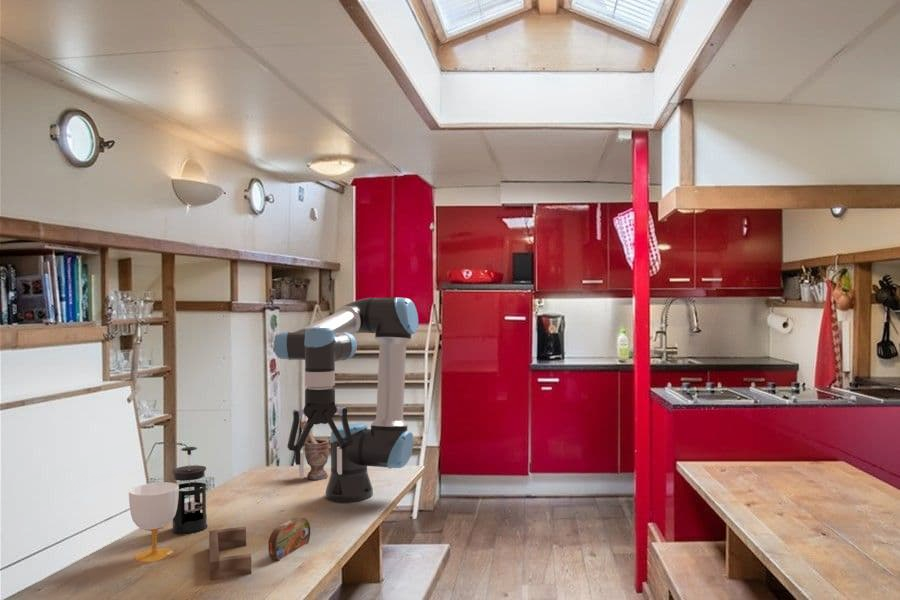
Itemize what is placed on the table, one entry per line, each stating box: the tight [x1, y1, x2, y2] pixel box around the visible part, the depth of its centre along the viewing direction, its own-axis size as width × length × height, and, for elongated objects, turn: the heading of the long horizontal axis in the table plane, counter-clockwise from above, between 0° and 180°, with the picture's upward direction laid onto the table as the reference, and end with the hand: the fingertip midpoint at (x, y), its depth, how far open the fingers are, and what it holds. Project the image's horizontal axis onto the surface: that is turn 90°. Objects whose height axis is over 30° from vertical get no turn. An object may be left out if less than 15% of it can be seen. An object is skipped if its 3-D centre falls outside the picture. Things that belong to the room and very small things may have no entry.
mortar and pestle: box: [299, 420, 330, 481], centre depth 242 cm, size 12×9×20 cm
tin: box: [267, 517, 311, 562], centre depth 169 cm, size 15×3×8 cm, turn 159°
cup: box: [128, 481, 180, 563], centre depth 169 cm, size 12×12×17 cm
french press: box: [171, 446, 208, 535], centre depth 188 cm, size 12×9×23 cm
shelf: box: [208, 525, 252, 581], centre depth 164 cm, size 9×22×5 cm, turn 20°
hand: (320, 474), depth 172 cm, fingers open, 9 cm apart
